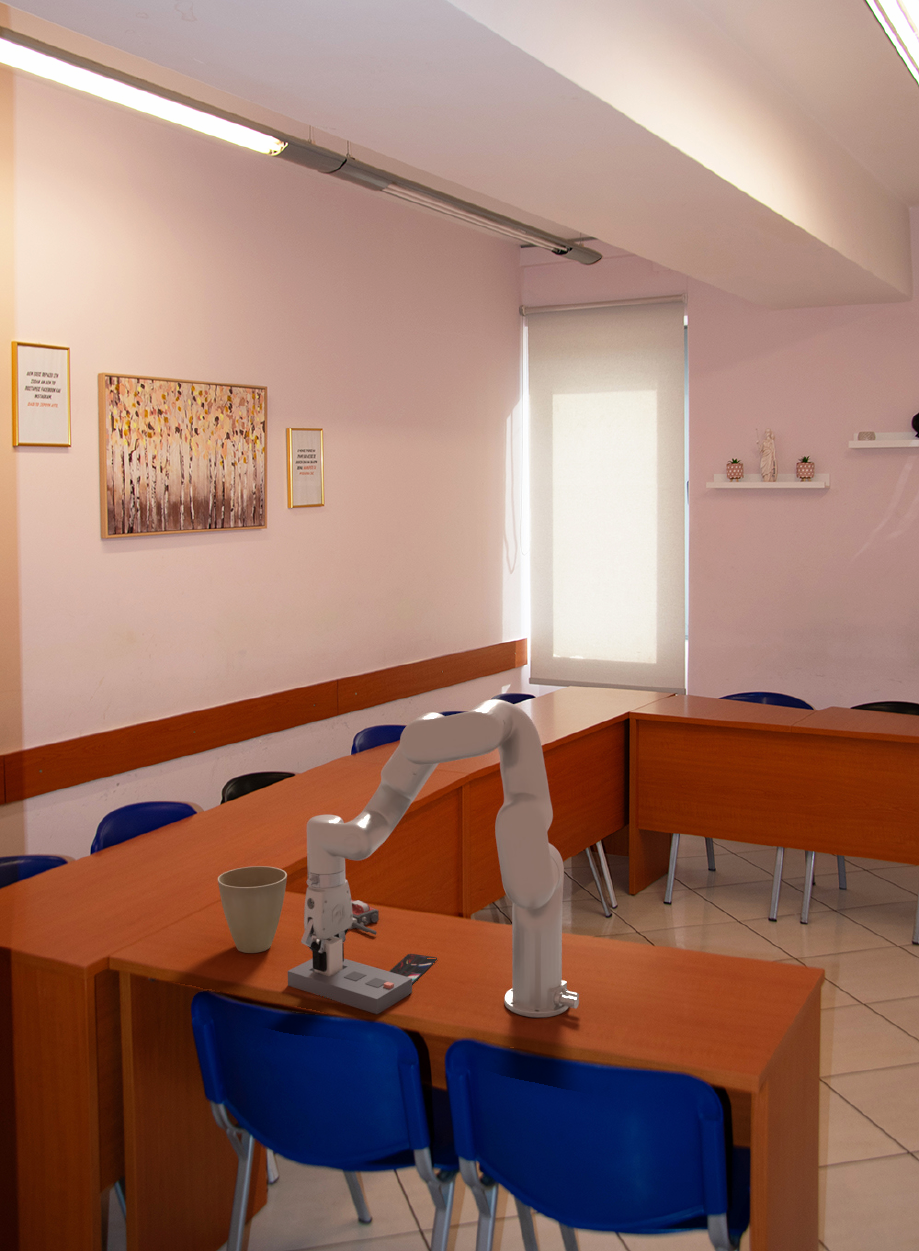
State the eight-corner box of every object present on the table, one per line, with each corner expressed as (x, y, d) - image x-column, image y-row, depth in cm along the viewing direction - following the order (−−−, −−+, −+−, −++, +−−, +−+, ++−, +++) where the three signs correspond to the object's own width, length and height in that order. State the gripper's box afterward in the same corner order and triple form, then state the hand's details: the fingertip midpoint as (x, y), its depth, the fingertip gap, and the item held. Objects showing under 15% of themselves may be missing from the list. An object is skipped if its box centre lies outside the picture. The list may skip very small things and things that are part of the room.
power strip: (412, 992, 208) (411, 975, 207) (377, 1014, 198) (376, 995, 198) (324, 966, 220) (324, 949, 220) (287, 985, 211) (287, 968, 211)
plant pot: (297, 952, 228) (295, 880, 226) (229, 965, 221) (227, 891, 220) (277, 929, 241) (275, 861, 240) (212, 940, 235) (210, 871, 233)
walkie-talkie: (318, 917, 249) (372, 940, 235) (317, 899, 249) (371, 921, 235) (347, 907, 256) (401, 929, 241) (347, 890, 255) (401, 911, 241)
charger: (342, 981, 213) (342, 937, 212) (329, 988, 210) (329, 944, 209) (327, 976, 215) (327, 933, 214) (314, 983, 212) (314, 939, 211)
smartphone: (439, 957, 224) (410, 985, 210) (439, 960, 224) (410, 988, 210) (408, 952, 227) (378, 980, 213) (408, 955, 227) (378, 983, 213)
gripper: (312, 893, 201) (314, 984, 203) (367, 869, 215) (369, 955, 217) (283, 886, 206) (285, 975, 207) (339, 863, 220) (341, 947, 221)
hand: (328, 964), depth 212 cm, fingers open, 4 cm apart
